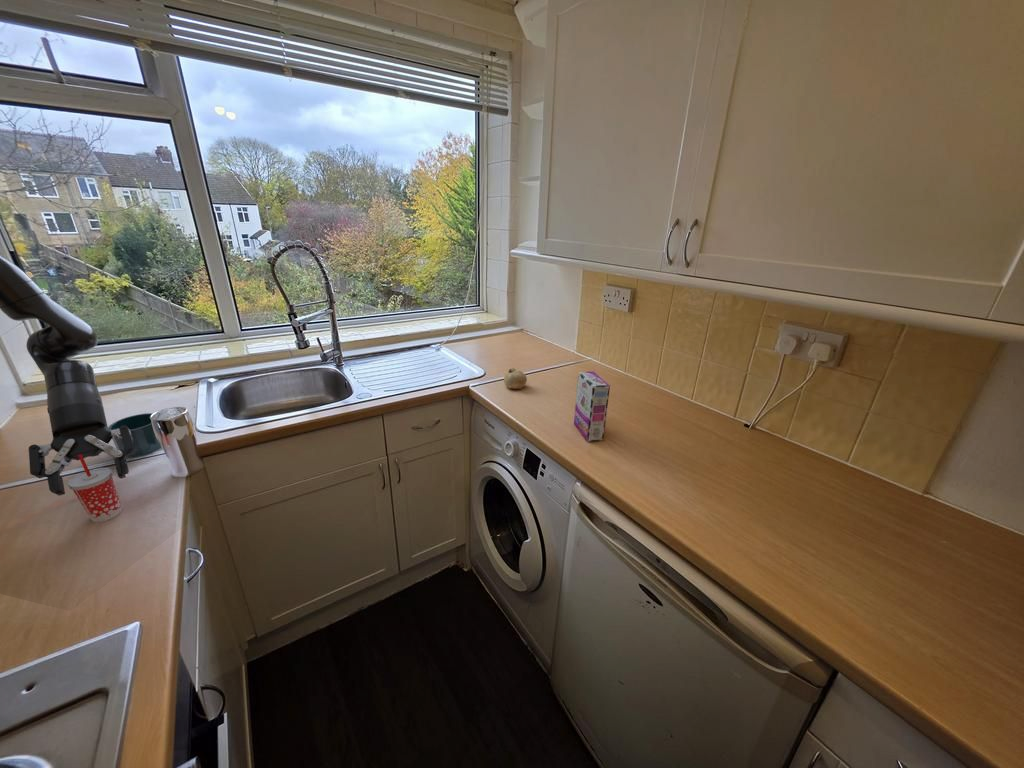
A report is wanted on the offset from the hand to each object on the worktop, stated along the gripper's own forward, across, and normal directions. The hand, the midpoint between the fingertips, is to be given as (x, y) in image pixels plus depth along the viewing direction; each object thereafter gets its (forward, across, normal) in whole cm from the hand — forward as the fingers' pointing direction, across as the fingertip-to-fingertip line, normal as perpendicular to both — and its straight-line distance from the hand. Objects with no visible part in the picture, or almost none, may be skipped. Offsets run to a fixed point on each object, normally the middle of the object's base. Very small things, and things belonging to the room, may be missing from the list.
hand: (91, 485), depth 77 cm
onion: (+4, -106, -8) cm, 107 cm away
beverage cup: (+5, 0, -6) cm, 8 cm away
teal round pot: (-13, -5, -24) cm, 28 cm away
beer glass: (-2, -13, -13) cm, 19 cm away
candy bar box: (+30, -103, +19) cm, 109 cm away
